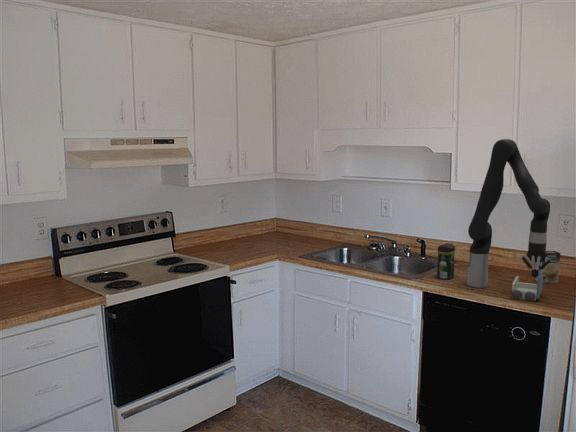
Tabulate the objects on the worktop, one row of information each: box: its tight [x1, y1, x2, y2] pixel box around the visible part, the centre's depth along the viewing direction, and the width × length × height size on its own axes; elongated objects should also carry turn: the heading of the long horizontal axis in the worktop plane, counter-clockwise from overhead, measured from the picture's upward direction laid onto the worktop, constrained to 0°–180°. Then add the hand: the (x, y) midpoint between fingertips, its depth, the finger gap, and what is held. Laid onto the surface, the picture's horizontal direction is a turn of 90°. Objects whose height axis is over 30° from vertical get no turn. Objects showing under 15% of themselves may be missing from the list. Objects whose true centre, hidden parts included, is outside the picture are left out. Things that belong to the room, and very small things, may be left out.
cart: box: [510, 275, 537, 302], centre depth 248 cm, size 10×17×7 cm, turn 150°
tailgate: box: [536, 270, 544, 300], centre depth 245 cm, size 1×16×10 cm, turn 150°
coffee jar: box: [436, 243, 456, 280], centre depth 279 cm, size 10×8×19 cm
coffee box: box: [534, 250, 561, 284], centre depth 270 cm, size 9×6×16 cm
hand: (534, 277), depth 245 cm, fingers closed
